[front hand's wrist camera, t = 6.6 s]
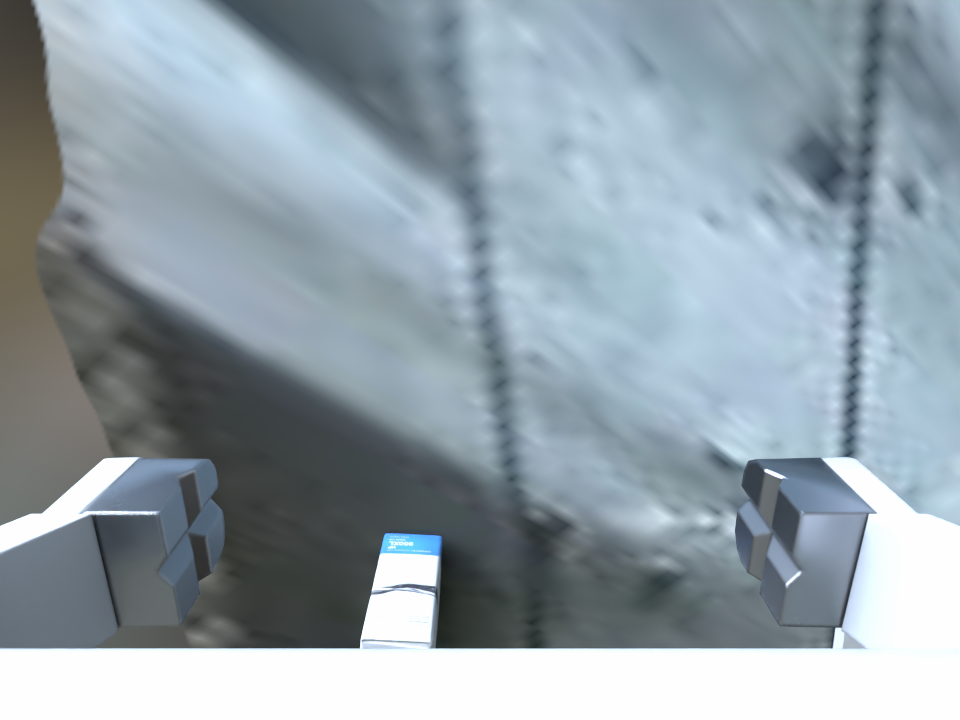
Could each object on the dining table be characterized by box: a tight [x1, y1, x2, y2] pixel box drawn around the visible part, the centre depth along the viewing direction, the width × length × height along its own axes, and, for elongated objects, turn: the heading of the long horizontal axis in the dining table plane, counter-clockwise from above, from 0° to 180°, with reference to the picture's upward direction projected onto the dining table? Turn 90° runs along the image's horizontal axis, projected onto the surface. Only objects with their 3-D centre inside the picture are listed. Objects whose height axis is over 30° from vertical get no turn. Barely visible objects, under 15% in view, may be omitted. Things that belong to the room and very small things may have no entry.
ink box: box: [360, 534, 442, 649], centre depth 49 cm, size 8×5×12 cm, turn 176°
